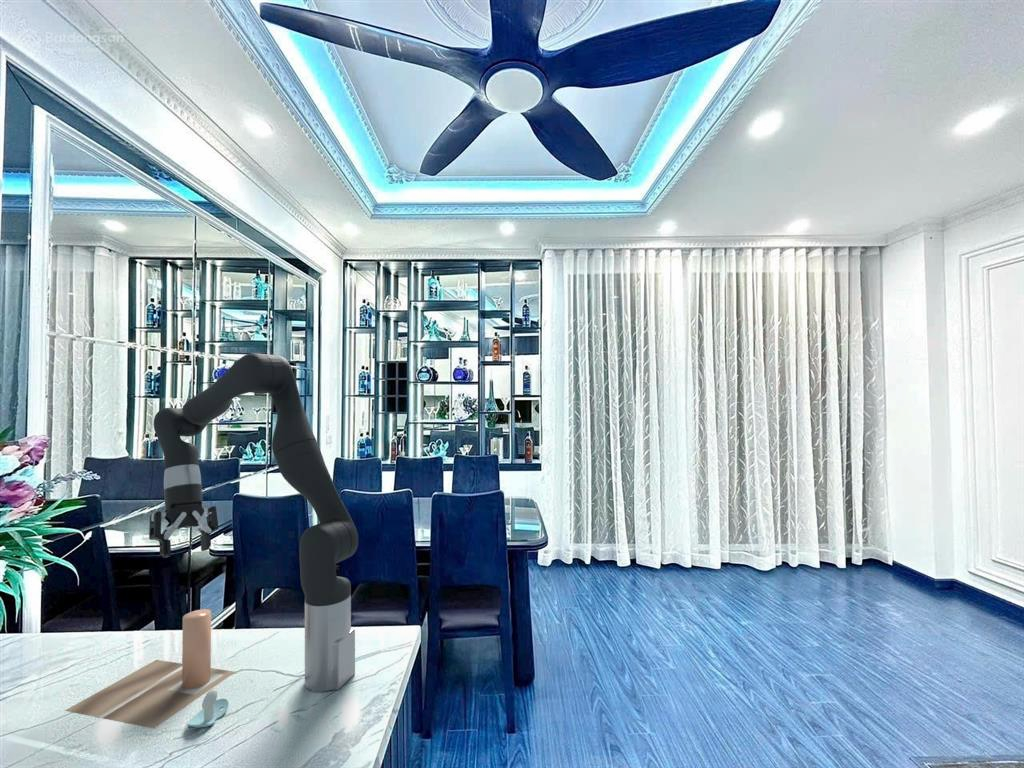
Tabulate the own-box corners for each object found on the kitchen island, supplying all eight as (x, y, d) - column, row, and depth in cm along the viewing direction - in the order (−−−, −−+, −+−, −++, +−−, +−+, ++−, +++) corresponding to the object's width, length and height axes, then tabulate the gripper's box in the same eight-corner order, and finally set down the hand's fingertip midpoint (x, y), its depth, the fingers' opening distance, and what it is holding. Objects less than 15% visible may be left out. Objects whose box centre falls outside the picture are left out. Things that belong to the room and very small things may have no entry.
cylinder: (216, 676, 100) (216, 610, 100) (195, 691, 95) (195, 621, 95) (197, 673, 101) (198, 608, 101) (175, 687, 96) (176, 618, 97)
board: (235, 674, 101) (235, 671, 102) (153, 731, 84) (154, 728, 84) (156, 662, 107) (156, 659, 107) (64, 713, 89) (64, 710, 89)
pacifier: (173, 737, 83) (204, 738, 82) (172, 702, 83) (203, 702, 83) (204, 710, 90) (233, 711, 90) (203, 677, 90) (232, 678, 90)
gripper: (159, 484, 107) (162, 556, 103) (221, 480, 120) (226, 545, 115) (141, 491, 110) (143, 562, 106) (204, 487, 123) (208, 551, 118)
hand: (186, 553), depth 111 cm, fingers open, 8 cm apart
